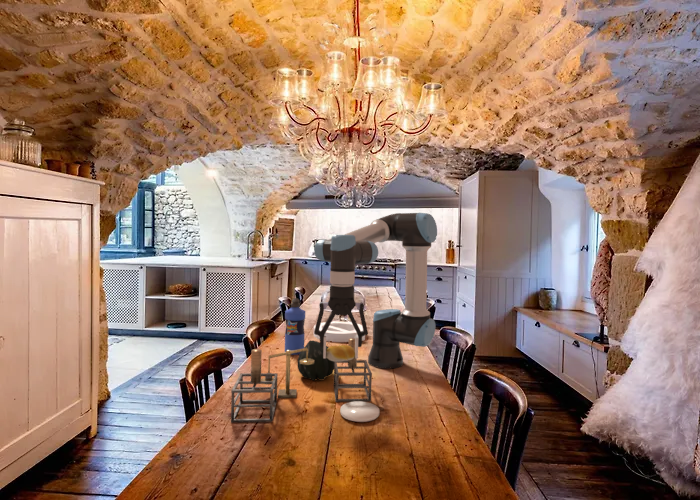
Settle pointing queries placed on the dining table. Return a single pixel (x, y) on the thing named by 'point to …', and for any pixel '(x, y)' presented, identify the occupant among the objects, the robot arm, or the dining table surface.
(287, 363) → the balance
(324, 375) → the squash
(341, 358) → the bread roll
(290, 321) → the water bottle
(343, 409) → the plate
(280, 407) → the dining table surface
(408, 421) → the dining table surface
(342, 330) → the ring with crossbar
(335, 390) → the metal bar cube frame
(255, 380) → the wire frame cage
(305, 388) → the dining table surface
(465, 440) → the dining table surface
